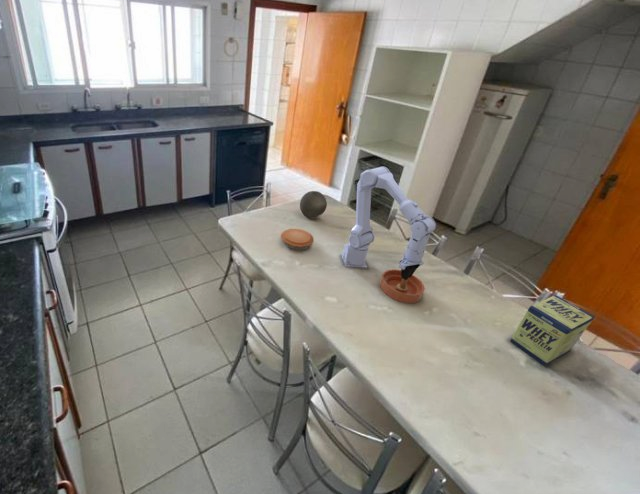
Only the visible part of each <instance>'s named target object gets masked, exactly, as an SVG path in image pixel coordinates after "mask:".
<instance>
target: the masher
mask: <svg viewBox="0 0 640 494" xmlns="http://www.w3.org/2000/svg"><path fill="white" fill-rule="evenodd" d="M408 279H409V278H408ZM408 279H407V280H405V279H403V278H402V281H401V284H397V287H396V290H397V291H399V292H402V293H407V290H408V287H407V286H406V284H407V282H408Z"/></svg>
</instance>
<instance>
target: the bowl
mask: <svg viewBox="0 0 640 494" xmlns="http://www.w3.org/2000/svg"><path fill="white" fill-rule="evenodd" d="M401 281H402V278H401V269H387V270H385V271H383V273H382V274H381V277H380V280H379V287H380V289H381V291H382V292H383V293H384V294H385V295H386V296H388V297H389V298H390V299H392V300H394V301H397V302H400V303H404V304H415V303H418V302H419V301H421V299H422V298H423V295H424V292H425V290H426V289H425V285H424V283H423V282H422V280H420V279H419V278H418V277H417V276H416V275H414V274H413V275H412V276H411V277H410V278H409V279H408V282H407V284H406V286H407V287H408V290H407V293H402V292H399V291H397V290H396V287H397V284H401Z"/></svg>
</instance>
